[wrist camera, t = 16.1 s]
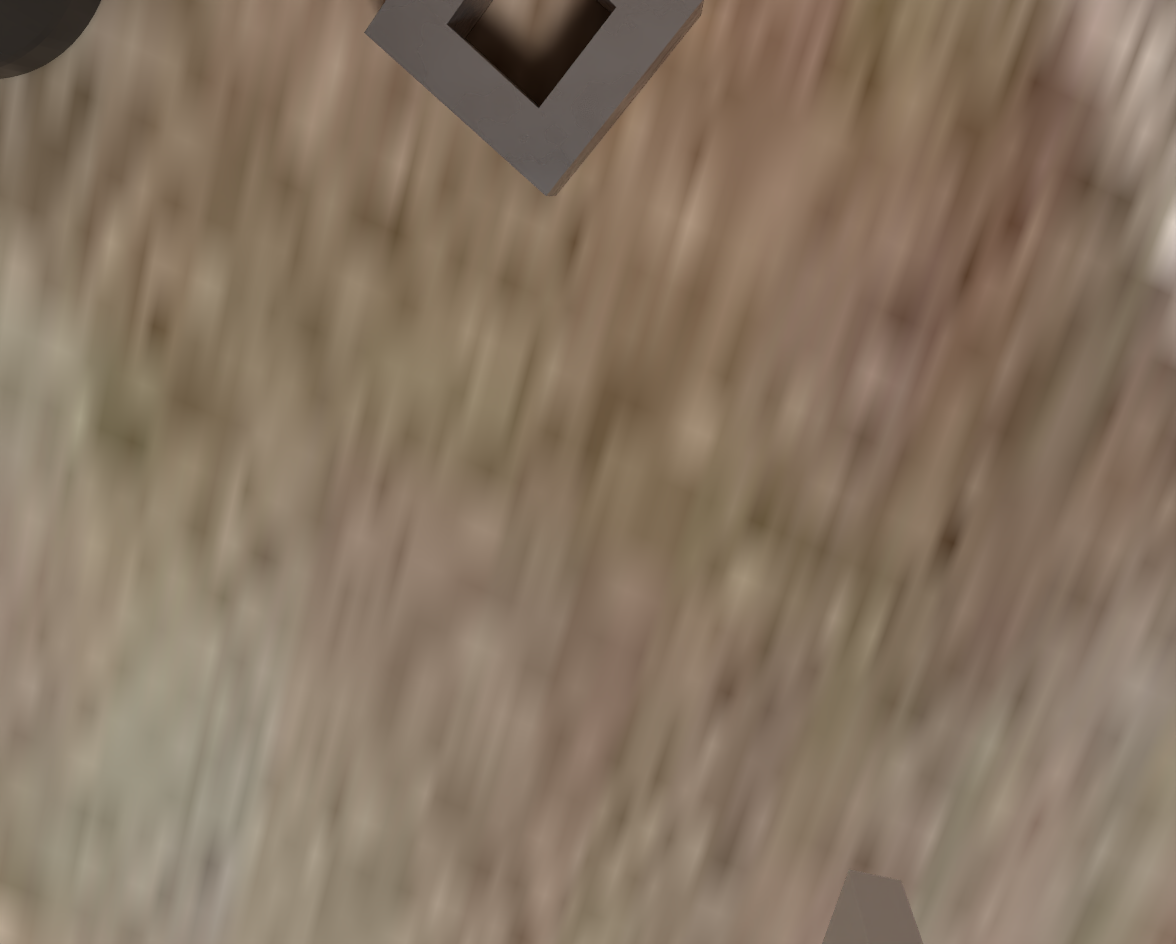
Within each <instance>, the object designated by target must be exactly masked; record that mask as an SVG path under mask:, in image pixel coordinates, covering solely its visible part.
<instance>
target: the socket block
mask: <svg viewBox="0 0 1176 944" xmlns="http://www.w3.org/2000/svg"><path fill="white" fill-rule="evenodd" d="M492 1H493V0H386V1H385V3H384V4H383V6H382V7H381V9H380V10H379V12H378V13H377V15H376V16H375V18H374V19H373V21H372V22H371V23H370V25H369V26H368V28H367V29H366V31H365V32H364V33H365V34H366V35H368V36H369V37H370V38H371V39H372V40H373V41H374V42H375V43H376V44H378V45H379V46H380V47H381V48H382V49H383V50H384V51H385V52H386V53H388V54H389V55H390V56H391V57H392V58H393V59H394V60H395V61H396V62H398V63H399V64H400V65H401V66H402V67H403V68H404V69H405V70H406V71H408V72H409V73H410V74H411V75H412V76H413V77H414V78H415V79H416V80H418V81H419V82H420V83H421V84H422V85H423V86H424V87H425V88H426V89H428V90H429V91H430V92H431V93H432V94H433V95H434V96H435V97H437V98H438V99H439V100H440V101H441V102H442V103H443V104H444V105H445V106H447V107H448V108H449V109H450V110H451V111H452V112H453V113H454V114H455V115H457V116H458V117H459V118H460V119H461V120H462V121H463V122H464V123H465V124H467V125H468V126H469V127H470V128H471V129H472V130H473V131H474V132H475V133H477V134H478V135H479V136H480V137H481V138H482V139H483V140H484V141H485V142H487V143H488V144H489V145H490V146H491V147H492V148H493V149H494V150H495V151H497V152H498V153H499V154H500V155H501V156H502V157H503V158H504V159H505V160H507V161H508V162H509V163H510V164H511V165H512V166H513V167H514V168H516V169H517V170H518V171H519V172H520V173H521V174H522V175H523V176H524V177H526V178H527V179H528V180H529V181H530V182H531V183H532V184H533V185H534V186H536V187H537V188H538V189H539V190H540V191H541V192H542V193H543V194H544V195H546V196H556V195H557V194H558V192H559V191H560V190H561V189H562V187H563V186H564V185H565V184H566V182H567V181H568V180H569V179H570V177H571V176H572V175H573V174H574V172H575V171H576V170H577V169H578V167H579V166H580V165H581V164H582V162H583V161H584V160H585V159H586V158H587V156H588V155H589V154H590V153H591V151H592V150H593V149H594V148H595V146H596V145H597V144H598V143H599V141H600V140H601V139H602V138H603V136H604V135H605V134H606V133H607V131H608V130H609V129H610V128H611V126H612V125H613V124H614V123H615V121H616V120H617V119H618V118H619V116H620V115H621V114H622V113H623V111H624V110H625V109H626V108H627V106H628V105H629V104H630V103H631V101H632V100H633V99H634V98H635V96H636V95H637V94H638V93H639V92H640V90H641V89H642V88H643V87H644V85H645V84H646V83H647V82H648V80H649V79H650V78H651V77H652V75H653V74H654V73H655V72H656V70H657V69H658V68H659V67H660V65H661V64H662V63H663V62H664V60H665V59H666V58H667V57H668V55H669V54H670V53H671V52H672V50H673V49H674V48H675V47H676V45H677V44H678V43H679V42H680V40H681V39H682V38H683V37H684V35H685V34H686V33H687V32H688V30H689V29H690V28H691V27H692V25H693V24H694V23H695V22H696V21H697V19H698V18H699V17H700V16H701V12H702V7H703V2H704V0H597V1H598V2H599V3H600V4H601V5H602V6H603V7H604V8H605V9H606V10H608V11H609V12H610V13H611V15H610V16H609V18H608V19H607V20H606V21H605V23H604V24H603V25H602V27H601V28H600V29H599V31H598V32H597V33H596V34H595V36H594V37H593V38H592V40H591V41H590V42H589V44H588V45H587V46H586V47H585V49H584V50H583V51H582V53H581V54H580V55H579V57H578V58H577V59H576V60H575V62H574V63H573V64H572V66H571V67H570V68H569V70H568V71H567V72H566V74H565V75H564V76H563V77H562V79H561V80H560V81H559V83H558V84H557V85H556V87H555V88H554V89H553V90H552V92H551V93H550V94H549V96H548V97H547V98H546V100H545V101H544V102H543V103H542V105H541V106H540V107H539V106H538V105H537V104H536V103H535V102H534V101H533V100H532V99H531V98H530V97H528V96H527V95H526V94H525V93H524V92H523V91H522V90H521V89H520V88H519V87H518V86H516V85H515V84H514V83H513V82H512V81H511V80H510V79H509V78H508V77H507V76H506V75H504V74H503V73H502V72H501V71H500V70H499V69H498V68H497V67H496V66H495V65H494V64H492V63H491V62H490V61H489V60H488V59H487V58H486V57H485V56H484V55H483V54H482V53H480V52H479V51H478V50H477V49H476V48H475V47H474V46H473V45H472V44H471V43H470V42H468V41H467V40H466V39H465V38H466V37H467V35H468V34H469V33H470V31H471V30H472V28H473V27H474V26H475V24H476V23H477V22H478V20H479V19H480V17H481V16H482V15H483V13H484V12H485V10H486V9H487V8H488V6H489V5H490V3H491V2H492Z"/></svg>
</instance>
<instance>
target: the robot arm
mask: <svg viewBox="0 0 1176 944" xmlns="http://www.w3.org/2000/svg"><path fill="white" fill-rule="evenodd" d="M100 1H101V0H0V79H1V78H9V77H14V76H18V75H21V74H25V73H28V72H30V71H33V70H35V69H38V68H40V67H42V66H44V65H46V64H47V63H49V62H50V61H52V60H54V59H55V58H56V57H58V56H59V55H60V54H62V53H63V52H64V51H65V50H66V49H67V48H69V47H70V46H71V45H72V44H73V43H74V42H75V40H76V39H77V38H78V37H79V36H80V35H81V33H82V32H83V31H84V29H85V28H86V27H87V25H88V24H89V22H90V20H91V19H92V17H93V15H94V13H95V11H96V10H97V8H98V6H99V3H100ZM822 944H923V942H922V939H921V936H920V933H919V930H918V927H917V924H916V922H915V919H914V916H913V913H912V910H911V907H910V904H909V901H908V898H907V895H906V892H905V889H904V887H903V884H902V881H901V880H897V879H892V878H887V877H883V876H878V875H873V874H868V873H864V872H859V871H854V870H850V869H849V871H848V874H847V876H846V879H845V882H844V885H843V888H842V890H841V893H840V896H839V899H838V901H837V904H836V907H835V910H834V912H833V915H832V918H831V921H830V923H829V926H828V929H827V932H826V935H825V937H824V940H823V943H822Z"/></svg>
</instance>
